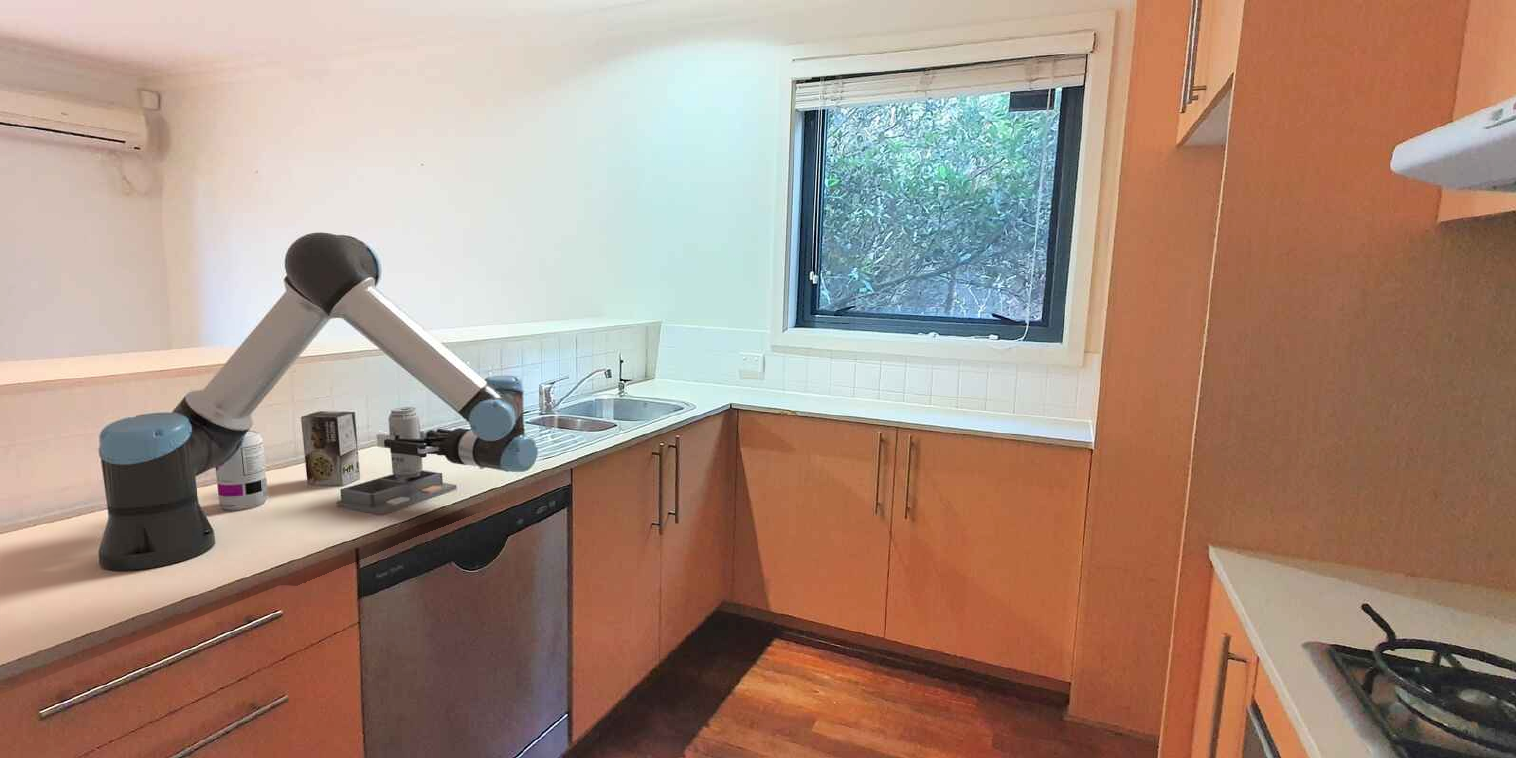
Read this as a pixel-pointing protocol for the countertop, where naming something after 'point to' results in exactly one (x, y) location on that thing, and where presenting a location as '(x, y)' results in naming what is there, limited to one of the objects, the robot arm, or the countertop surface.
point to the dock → (393, 492)
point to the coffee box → (330, 448)
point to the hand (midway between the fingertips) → (391, 437)
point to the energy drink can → (407, 428)
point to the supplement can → (243, 476)
